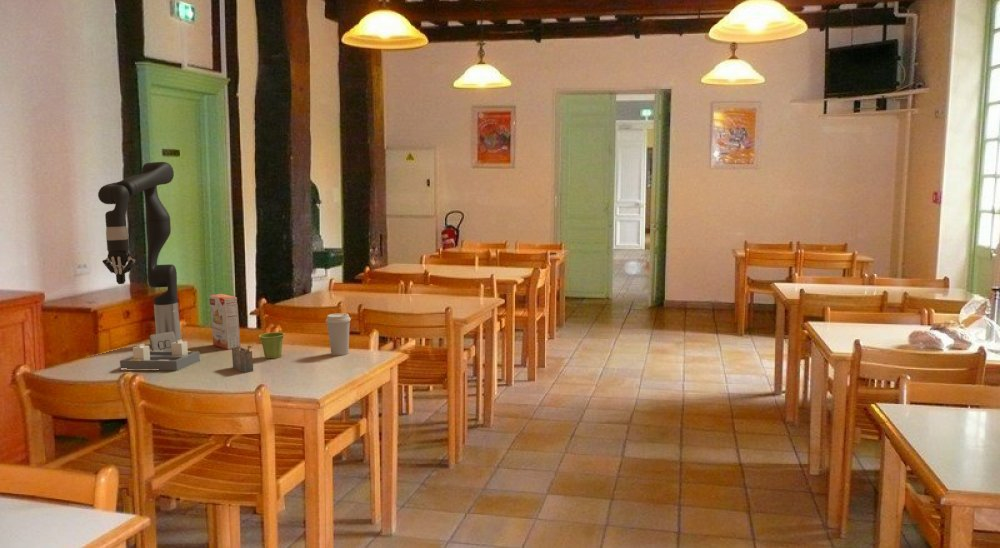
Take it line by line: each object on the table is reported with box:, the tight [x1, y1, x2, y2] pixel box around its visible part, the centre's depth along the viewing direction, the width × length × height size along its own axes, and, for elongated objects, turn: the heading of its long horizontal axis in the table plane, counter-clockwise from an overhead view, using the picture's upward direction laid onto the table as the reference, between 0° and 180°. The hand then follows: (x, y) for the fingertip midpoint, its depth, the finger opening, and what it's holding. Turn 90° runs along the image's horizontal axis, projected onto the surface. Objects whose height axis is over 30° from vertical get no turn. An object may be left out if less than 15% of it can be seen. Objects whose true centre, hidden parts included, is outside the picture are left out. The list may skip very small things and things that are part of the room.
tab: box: [132, 343, 151, 360], centre depth 300 cm, size 4×4×7 cm
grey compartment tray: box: [119, 350, 201, 371], centre depth 304 cm, size 16×22×4 cm
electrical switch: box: [149, 332, 176, 351], centre depth 320 cm, size 9×5×9 cm, turn 134°
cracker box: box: [209, 293, 242, 351], centre depth 333 cm, size 14×6×21 cm, turn 42°
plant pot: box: [258, 331, 285, 360], centre depth 312 cm, size 9×9×9 cm
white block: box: [171, 338, 189, 355], centre depth 306 cm, size 4×4×7 cm
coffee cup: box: [325, 312, 352, 357], centre depth 315 cm, size 10×10×15 cm
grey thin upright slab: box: [231, 344, 254, 374], centre depth 294 cm, size 11×3×10 cm, turn 41°
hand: (121, 283), depth 313 cm, fingers closed
